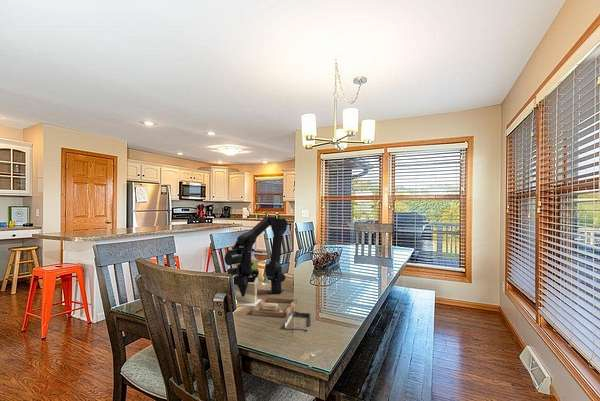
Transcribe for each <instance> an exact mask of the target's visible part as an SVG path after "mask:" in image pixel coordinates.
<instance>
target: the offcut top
mask: <svg viewBox="0 0 600 401" xmlns="http://www.w3.org/2000/svg"><path fill="white" fill-rule="evenodd" d="M261 307H262V309H268V310H276V309H277V308H278V307H279V303H276V302H265V303H264V304H263V305H262V306H261Z"/></svg>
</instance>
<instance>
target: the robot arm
mask: <svg viewBox="0 0 600 401" xmlns="http://www.w3.org/2000/svg"><path fill="white" fill-rule="evenodd" d="M269 227H271V232H272V233H273V236H272V244H271V245H272V246H271V252H270V261H269V262H268V263H266V264H265V270H264V272H265V276H266V278H267V281H270V290H269V291H268V294H279V295H280V294H282V293H283V292H284V291H285V289H284V288H283V286H282V285H283V282H285V281H286V275H285V274H284V273H283V270H282V264H281V262H280V260H281V253H282V244H283V237H284V236H283V235H284V234H285V232H286V230H287V229H288V228H287V227H288V221H287V219H286V218H283V217H282V218H281V217H274V216H264V217H263V218H262V220H260V221H259V222H258V223H257V224H256V225H254V227H252V228H251V229H250V230H249V231H246V232H244V233H242V234H240V235H238V237H237V238H236V241H235V243H234V246H233V247H232V249H227V250H226V253H225V254H224V263H225V264H226V265H227V266H232V265H236V264H237V263H240V264H238V265H237V267H236V266H235V267H230V268H227V271H226V272H227V273H226V274H227V275H228V274H231V275H232V278H234V284H233V285H235V284H236V285H237V286H238V287H239V290H240V293H241V295H242V296H243V297H244V295H245V292H246V288H247V285H248V282H252V283H254V282H255V279H256V277H257V275H258V276H259V269H258V270H257V269H252V265H253V263H252V258H251V256H252V252H254V251H256V249H254V247H253V246H254V244H256V242H257V238H258V237H259V236H260V235H261V234H262V233H264V232H265V230H266V229H268V228H269ZM254 274H255V275H256V276H254ZM237 275H238V276H237ZM239 275H241V276H239Z"/></svg>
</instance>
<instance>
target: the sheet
mask: <svg viewBox="0 0 600 401" xmlns="http://www.w3.org/2000/svg"><path fill="white" fill-rule="evenodd" d="M234 285H235V287H234V291H235V292H236V300H237V302H244V303H256V302H257V299H258V288H257V286H258V283H252V282H248V285H247V288H246V292H245V295H244V297H243V296H242V295H241V293H240V290H239V287H238V286H237V285H236V284H234Z"/></svg>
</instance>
